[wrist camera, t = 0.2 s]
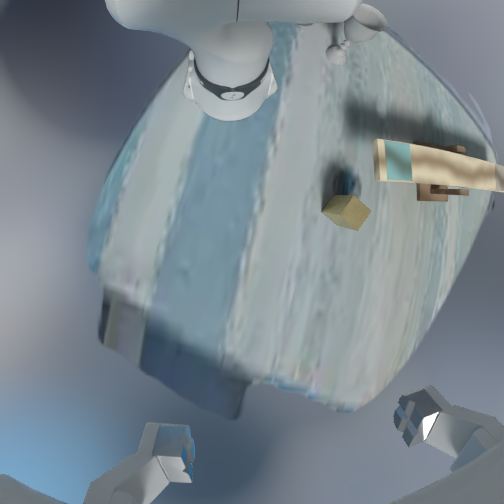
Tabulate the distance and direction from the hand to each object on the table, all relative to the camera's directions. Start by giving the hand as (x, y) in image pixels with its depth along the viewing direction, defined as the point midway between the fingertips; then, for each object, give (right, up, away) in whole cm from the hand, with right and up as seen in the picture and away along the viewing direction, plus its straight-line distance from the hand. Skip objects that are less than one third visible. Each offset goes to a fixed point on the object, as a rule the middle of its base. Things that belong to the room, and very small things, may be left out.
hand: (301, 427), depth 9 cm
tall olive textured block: (+15, +15, +47) cm, 52 cm away
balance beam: (+42, +24, +37) cm, 61 cm away
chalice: (+17, +51, +41) cm, 67 cm away
